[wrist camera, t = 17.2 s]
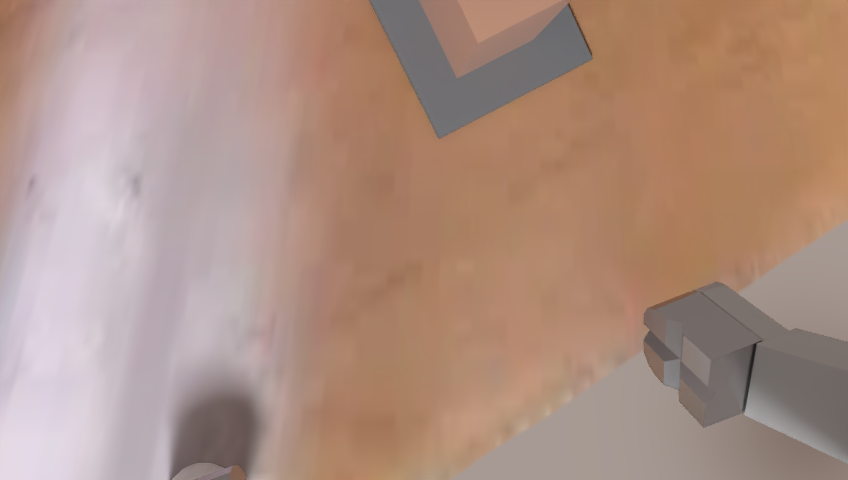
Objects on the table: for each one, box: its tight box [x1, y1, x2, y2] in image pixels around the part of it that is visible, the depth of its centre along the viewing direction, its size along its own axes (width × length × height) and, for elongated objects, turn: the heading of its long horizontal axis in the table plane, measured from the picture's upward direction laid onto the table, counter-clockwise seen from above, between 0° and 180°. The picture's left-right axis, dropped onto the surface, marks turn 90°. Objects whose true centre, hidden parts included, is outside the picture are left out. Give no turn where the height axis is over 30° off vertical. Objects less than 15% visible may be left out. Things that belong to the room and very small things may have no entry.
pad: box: [369, 0, 593, 139], centre depth 38 cm, size 13×13×1 cm
